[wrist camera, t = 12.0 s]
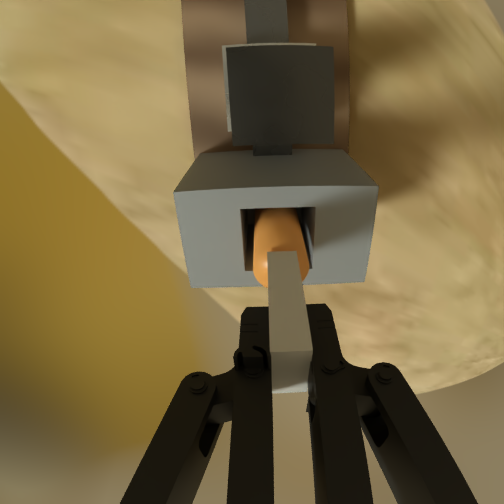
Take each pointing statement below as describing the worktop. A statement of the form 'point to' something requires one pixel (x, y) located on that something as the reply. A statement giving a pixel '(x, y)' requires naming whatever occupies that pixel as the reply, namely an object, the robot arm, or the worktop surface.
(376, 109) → the worktop surface
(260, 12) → the rail
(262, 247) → the button
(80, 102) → the worktop surface
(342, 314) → the worktop surface
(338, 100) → the base board
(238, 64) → the carriage
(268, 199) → the end cabinet
